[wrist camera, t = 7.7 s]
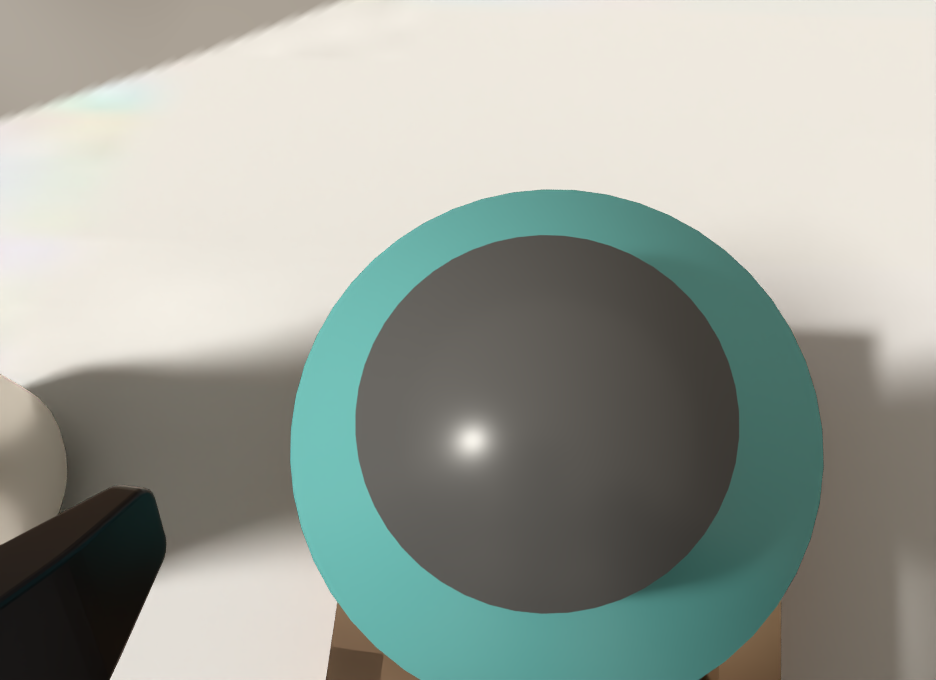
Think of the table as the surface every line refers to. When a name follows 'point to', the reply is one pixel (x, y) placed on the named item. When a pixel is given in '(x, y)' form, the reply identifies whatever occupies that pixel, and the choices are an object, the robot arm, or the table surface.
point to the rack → (377, 676)
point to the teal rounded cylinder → (556, 445)
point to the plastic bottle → (28, 461)
